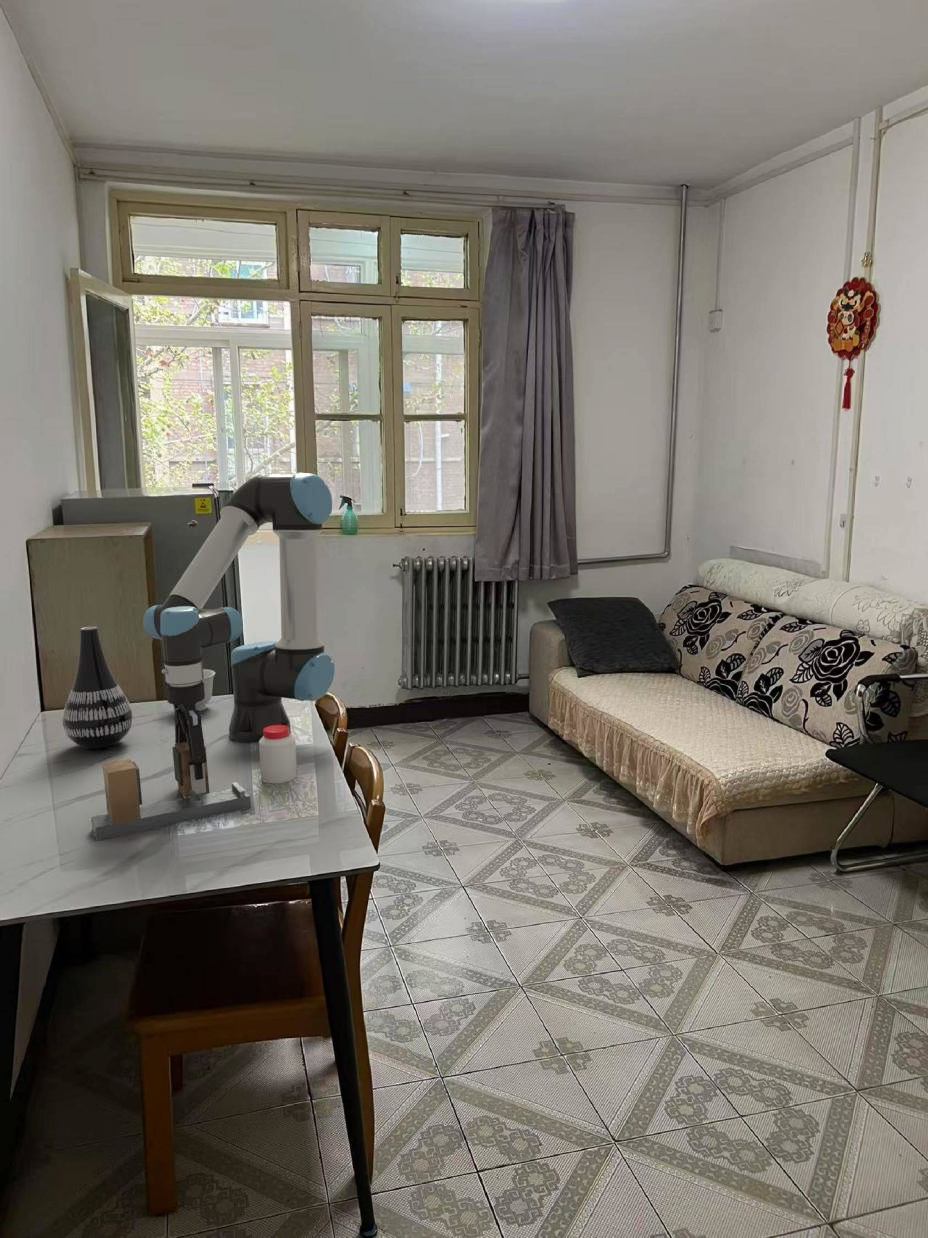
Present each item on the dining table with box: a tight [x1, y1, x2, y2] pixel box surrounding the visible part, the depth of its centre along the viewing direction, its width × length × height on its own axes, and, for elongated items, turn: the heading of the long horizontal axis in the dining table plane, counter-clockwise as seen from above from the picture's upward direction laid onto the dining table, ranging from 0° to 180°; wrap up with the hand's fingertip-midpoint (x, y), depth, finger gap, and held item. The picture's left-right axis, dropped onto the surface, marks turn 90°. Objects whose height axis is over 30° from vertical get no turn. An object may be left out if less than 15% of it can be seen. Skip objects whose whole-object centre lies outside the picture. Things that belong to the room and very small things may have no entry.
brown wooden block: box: [172, 742, 210, 798], centre depth 193 cm, size 6×6×10 cm
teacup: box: [195, 668, 216, 712], centre depth 254 cm, size 12×15×10 cm
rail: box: [90, 758, 252, 842], centre depth 178 cm, size 29×6×12 cm, turn 120°
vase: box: [62, 626, 134, 751], centre depth 223 cm, size 16×16×30 cm
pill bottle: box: [258, 725, 298, 784], centre depth 200 cm, size 8×8×11 cm
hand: (193, 785), depth 194 cm, fingers open, 9 cm apart
